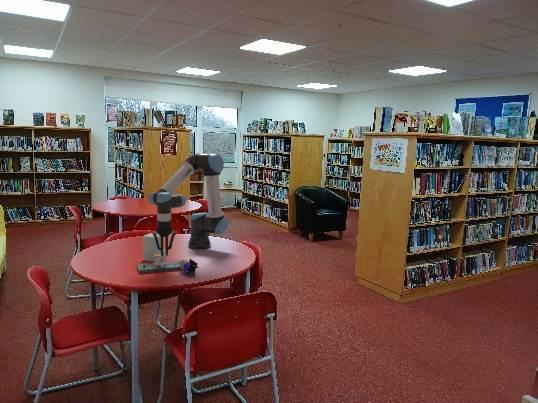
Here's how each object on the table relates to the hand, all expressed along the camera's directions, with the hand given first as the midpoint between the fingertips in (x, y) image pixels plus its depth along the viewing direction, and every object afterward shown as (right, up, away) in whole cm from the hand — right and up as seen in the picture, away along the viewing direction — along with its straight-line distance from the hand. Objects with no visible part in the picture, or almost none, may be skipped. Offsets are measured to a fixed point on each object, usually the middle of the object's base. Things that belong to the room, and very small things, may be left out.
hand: (164, 261), depth 232 cm
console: (0, -4, +1) cm, 4 cm away
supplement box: (-11, -1, +18) cm, 21 cm away
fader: (-3, -2, -1) cm, 4 cm away
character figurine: (+15, -6, -7) cm, 18 cm away
